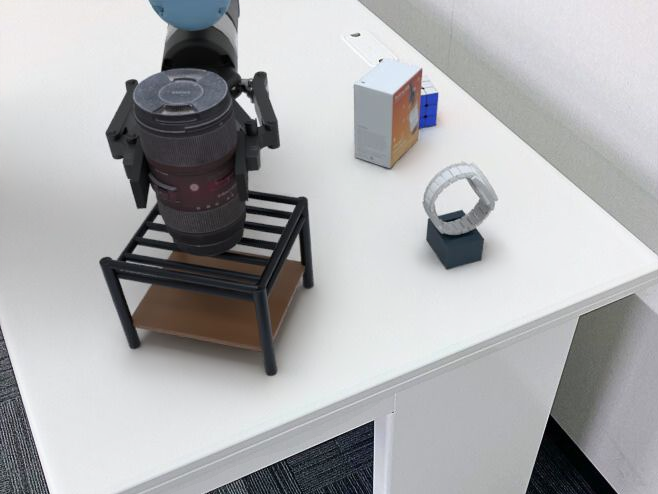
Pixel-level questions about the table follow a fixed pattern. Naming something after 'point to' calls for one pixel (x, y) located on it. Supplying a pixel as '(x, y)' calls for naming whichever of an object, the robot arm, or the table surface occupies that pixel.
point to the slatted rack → (217, 283)
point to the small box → (387, 112)
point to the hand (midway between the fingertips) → (190, 191)
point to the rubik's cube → (428, 103)
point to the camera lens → (192, 157)
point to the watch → (458, 216)
